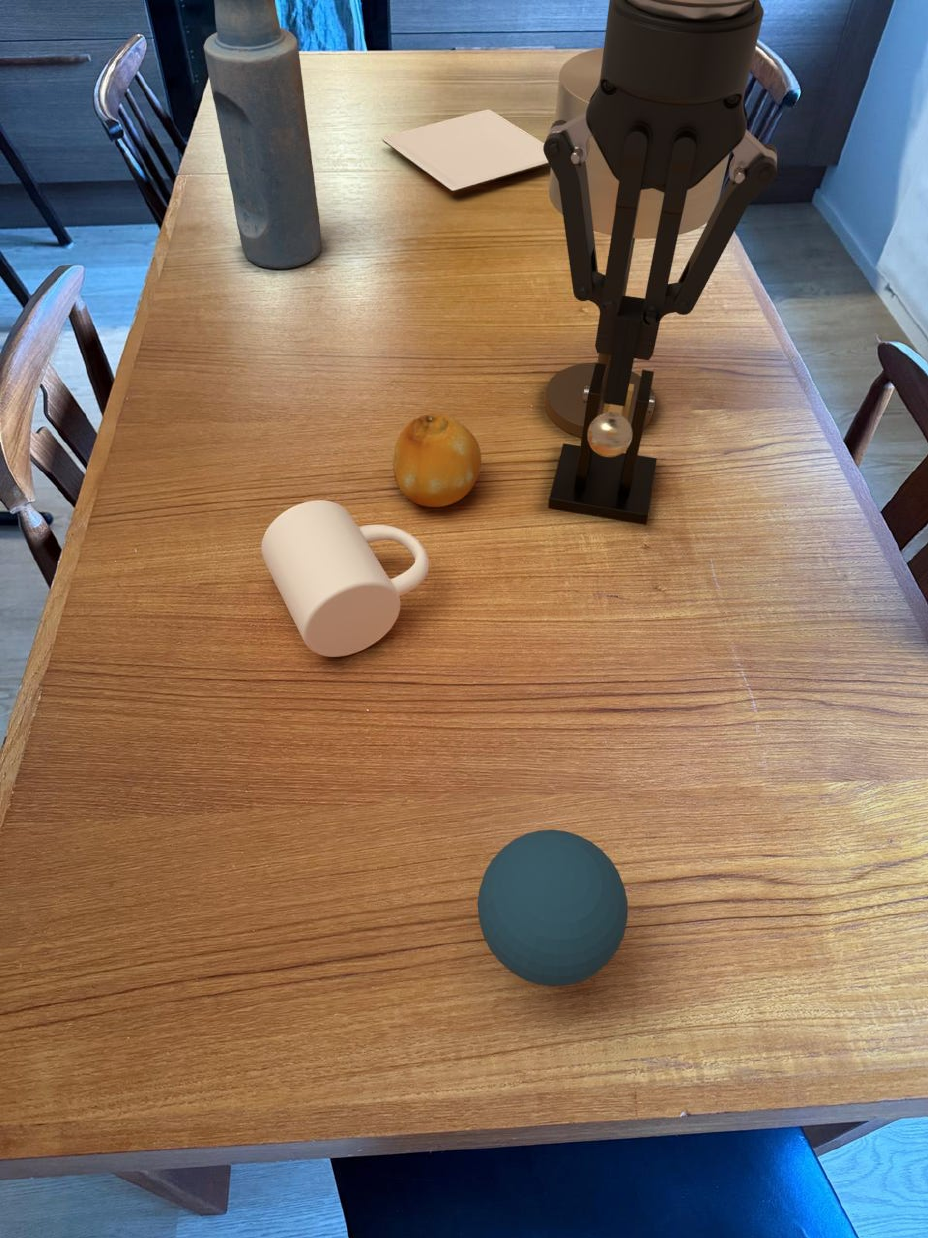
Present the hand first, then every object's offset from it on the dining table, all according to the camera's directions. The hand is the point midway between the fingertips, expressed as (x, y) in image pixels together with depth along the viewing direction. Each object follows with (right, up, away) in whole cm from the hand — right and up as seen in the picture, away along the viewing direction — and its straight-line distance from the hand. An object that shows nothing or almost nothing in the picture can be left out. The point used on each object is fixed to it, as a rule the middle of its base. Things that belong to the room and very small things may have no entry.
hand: (616, 392), depth 62 cm
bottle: (-33, +30, +48) cm, 66 cm away
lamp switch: (+1, -1, +9) cm, 9 cm away
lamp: (+3, +6, +30) cm, 31 cm away
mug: (-19, -14, +13) cm, 27 cm away
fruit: (-13, -4, +22) cm, 26 cm away
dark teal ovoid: (-6, -37, -5) cm, 38 cm away
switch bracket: (+2, -3, +22) cm, 22 cm away
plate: (-9, +49, +65) cm, 82 cm away
